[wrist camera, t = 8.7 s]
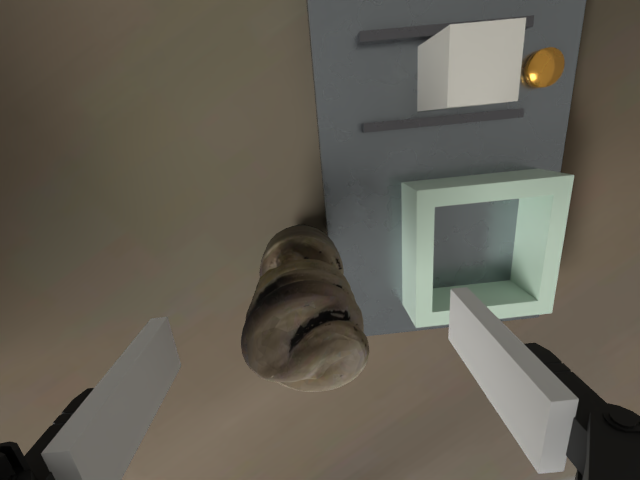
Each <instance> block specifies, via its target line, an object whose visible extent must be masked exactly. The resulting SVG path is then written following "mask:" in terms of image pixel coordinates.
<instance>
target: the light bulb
mask: <svg viewBox="0 0 640 480" xmlns="http://www.w3.org/2000/svg"><path fill="white" fill-rule="evenodd" d="M259 273H260V279H259V282H258V284H257V287H256V291H255V293H254V296H253V299H252V302H251V304H250V306H249V309H248V312H247V315H246V321H245V325H244V327H243V332H242V337H241V348H242V354H243V357H244V359H245V362H246V363H247V365H248V366H249V368H250V369H251V370H252V371H253V372H254V373H255V374H257V375H258V376H259V377H260V378H262V379H265V380H267V381H272V382H278V383H279V384H281V385H283V386H286V387H289V388H291V389H295V390H298V391H307V392H318V391H326V390H332V389H335V388H339V387H341V386H343V385H345V384H347V383H349V382H350V381H352V380H353V379H355V378H356V377H357V376H358V375H359V374H360V373H361V372H362V371H363V369H364V367H365V365H366V363H367V360H368V355H369V345H368V341H367V337H366V335H365V334H364V333H363V332H364V323H363V316H362V312H361V310H360V308H359V306H358V305H357V303H356V301H355V297H354V294H353V292H352V290H351V288H350V285H349V283H348V281H347V279H346V277H345V276H344V270H343V263H342V260H341V258H340V254H339V252H338V250H337V248H336V247H335V245H334V243H333V241H332V240H331V239H330V238H329V237H328V236H327V235H326V234H325V233H323V232H322V231H320V230H318V229H316V228H314V227H310V226H307V225H296V226H292V227H289V228H286V229H284V230H282V231H280V232H279V233H277V234H276V235H275V236H274V237H273V238H272V239H271V240H270V242H269V243H268V245H267V247H266V250H265V252H264V254H263V257H262V260H261V266H260V272H259Z"/></svg>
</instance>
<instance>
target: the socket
mask: <svg viewBox="0 0 640 480" xmlns="http://www.w3.org/2000/svg"><path fill="white" fill-rule="evenodd" d="M573 181H574V175H572V174H566V173H561V172H555V171H549V170H544V169H528V170H518V171H508V172H498V173H488V174H478V175H468V176H458V177H448V178H438V179H428V180H418V181H408V182H401V202H402V304H403V306H404V308H405V310H406V311H407V313H408V315H409V317H410V318H411V320H412V322H413V324H414V325H415V327H416V328H421V327H430V326H439V325H448V324H449V314H450V291H451V289H453V288H463V287H467V288H468V289H469V290H470V291H471V292H472V293H473V294H474V295H475V296H476V297H477V298H478V299H479V300H480V301H481V302H482V303H483V304H484V305H485V306H486V307H487V308H488V309H489V310H490V311H491V312H492V313H493V314H494V315H495V316H496V317H497V318H498V319H503V318H512V317H521V316H530V315H539V314H548V313H552V309H553V303H554V297H555V291H556V285H557V279H558V272H559V266H560V260H561V254H562V248H563V242H564V236H565V230H566V223H567V217H568V211H569V205H570V199H571V193H572V187H573ZM509 199H519V205H518V214H517V223H516V232H515V241H514V250H513V259H512V268H511V277H510V280H507V281H497V282H488V283H479V284H469V285H460V286H451V287H441V288H433V256H434V216H435V207H441V206H450V205H460V204H470V203H480V202H490V201H499V200H509Z"/></svg>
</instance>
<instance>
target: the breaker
mask: <svg viewBox="0 0 640 480" xmlns="http://www.w3.org/2000/svg"><path fill="white" fill-rule="evenodd" d="M525 25H526V18H516V19H505V20H494V21H483V22H472V23H461V24H450V25H449V26H447V27H446V28H444V29H443V30H441V31H440V32H438V33H437V34H435V35H434V36H432V37H431V38H430V39H428V40H427V41H425V42H424V43H422V44H421V45H419V46H418V80H417V112H418V111H428V110H438V109H449V108H459V107H470V106H479V105H487V104H496V103H504V102H513V101H518V96H519V85H520V75H521V65H522V55H523V45H524V35H525Z"/></svg>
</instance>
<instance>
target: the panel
mask: <svg viewBox="0 0 640 480" xmlns="http://www.w3.org/2000/svg"><path fill="white" fill-rule="evenodd" d="M585 5H586V0H307V11H308V22H309V33H310V45H311V56H312V67H313V79H314V90H315V102H316V113H317V124H318V136H319V147H320V158H321V170H322V181H323V192H324V204H325V215H326V226H327V236H328V237H329V238H330V239H331V240H332V241H333V243H334V245H335V247H336V248H337V250H338V252H339V254H340V258H341V260H342V263H343V270H344V276H345V277H346V279H347V281H348V283H349V285H350V288H351V290H352V292H353V294H354V297H355V301H356V303H357V305H358V306H359V308H360V310H361V312H362V316H363V323H364V332H363V333H364V334H365V335H366V336H372V335H381V334H390V333H399V332H408V331H417V330H427V329H436V328H445V327H449V324H448V325H439V326H430V327H421V328H416V327H415V325H414V324H413V322H412V320H411V318H410V317H409V315H408V313H407V311H406V310H405V308H404V306H403V304H402V202H401V182H408V181H418V180H428V179H438V178H448V177H458V176H468V175H478V174H488V173H498V172H508V171H518V170H528V169H544V170H549V171H555V172H561V166H562V159H563V152H564V146H565V139H566V132H567V126H568V119H569V112H570V106H571V99H572V92H573V85H574V79H575V72H576V65H577V59H578V52H579V45H580V39H581V32H582V25H583V18H584V12H585ZM516 18H526V25H525V35H524V45H523V55H522V65H521V75H520V85H519V96H518V101H513V102H504V103H496V104H487V105H479V106H470V107H459V108H449V109H438V110H428V111H418V112H417V80H418V46H419V45H421V44H422V43H424V42H425V41H427V40H428V39H430V38H431V37H432V36H434V35H435V34H437V33H438V32H440V31H441V30H443V29H444V28H446V27H447V26H449V25H450V24H461V23H472V22H483V21H494V20H505V19H516ZM518 205H519V199H509V200H499V201H490V202H480V203H470V204H460V205H450V206H441V207H435V216H434V256H433V288H441V287H451V286H460V285H469V284H479V283H488V282H497V281H507V280H510V277H511V268H512V259H513V250H514V241H515V232H516V223H517V214H518ZM536 317H539V315H530V316H521V317H512V318H503V319H499V320H500V321H509V320H518V319H527V318H536Z"/></svg>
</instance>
